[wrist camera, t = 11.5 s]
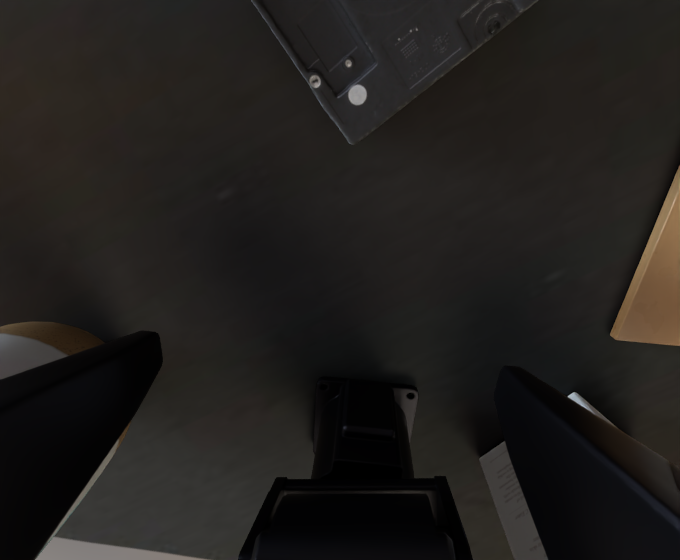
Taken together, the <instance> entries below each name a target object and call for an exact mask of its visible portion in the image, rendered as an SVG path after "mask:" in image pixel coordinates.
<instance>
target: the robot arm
mask: <svg viewBox="0 0 680 560" xmlns="http://www.w3.org/2000/svg"><path fill="white" fill-rule="evenodd" d="M162 362H163V356H162V349H161V342H160V337H159V334H158V333H156V332H152V331H139V332H136V333H133V334H130V335H127V336H124V337H121V338H119V339H116V340H113V341H110V342H107V343H104V344H101V345H98V346H95V347H93V348H90V349H87V350H84V351H81V352H78V353H75V354H72V355H70V356H67V357H64V358H61V359H58V360H55V361H52V362H49V363H47V364H44V365H41V366H38V367H35V368H32V369H29V370H26V371H24V372H21V373H18V374H15V375H12V376H9V377H6V378H3V379H0V560H35V559H36V558H37V556H38V555H39V553H40V552H41V550H42V549H43V548H44V546H45V545H46V543H47V542H48V540H49V539H50V537H51V536H52V535H53V533H54V532H55V530H56V529H57V527H58V526H59V524H60V523H61V522H62V520H63V519H64V517H65V516H66V514H67V513H68V511H69V510H70V508H71V507H72V506H73V504H74V503H75V501H76V500H77V498H78V497H79V495H80V494H81V493H82V491H83V490H84V488H85V487H86V485H87V484H88V482H89V481H90V480H91V478H92V477H93V475H94V474H95V472H96V471H97V469H98V468H99V467H100V465H101V464H102V462H103V461H104V459H105V458H106V456H107V455H108V454H109V452H110V451H111V449H112V448H113V446H114V445H115V443H116V442H117V440H118V439H119V438H120V436H121V435H122V433H123V432H124V430H125V429H126V427H127V426H128V424H129V423H130V421H131V420H132V418H133V417H134V415H135V413H136V412H137V410H138V408H139V407H140V405H141V403H142V401H143V399H144V398H145V396H146V394H147V392H148V390H149V388H150V387H151V385H152V383H153V381H154V379H155V378H156V376H157V374H158V372H159V370H160V368H161V366H162ZM322 384H327V386H323V385H322ZM408 393H413V394H412V395H408ZM418 398H419V394H418V390H417V388H416V387H415V386H412V385H404V384H394V383H385V382H375V381H365V380H355V379H344V378H334V377H321V378H319V379H318V381H317V386H316V404H315V423H314V443H313V452H314V454H315V458H314V464H313V470H312V476H311V479H287V477H276V479H275V481H274V483H273V485H272V487H271V490H270V491H269V492H268V494H267V496H266V499H265V501H264V503H263V505H262V507H261V509H260V511H259V513H258V515H257V518H256V520H255V522H254V524H253V526H252V528H251V530H250V532H249V534H248V537H247V539H246V541H245V543H244V545H243V547H242V549H241V551H240V554H239V558H238V560H473V559H472V555H471V551H470V547H469V544H468V540H467V537H466V534H465V531H464V528H463V525H462V523H461V520H460V517H459V514H458V511H457V508H456V505H455V502H454V499H453V496H452V493H451V491H450V488H449V485H448V482H447V479H446V476H434V478H414V471H413V464H412V457H411V450H410V440H411V435H412V429H413V424H414V419H415V413H416V408H417V403H418ZM494 401H495V405H496V409H497V413H498V416H499V420H500V424H501V428H502V432H503V436H504V440H505V443H506V447H507V451H508V454H509V458H510V460H511V463H512V466H513V469H514V471H515V474H516V477H517V479H518V482H519V485H520V487H521V490H522V492H523V495H524V498H525V500H526V503H527V506H528V508H529V511H530V514H531V516H532V519H533V521H534V524H535V527H536V529H537V532H538V535H539V537H540V540H541V542H542V545H543V548H544V550H545V553H546V556H547V558H548V560H680V467H678V466H676V465H675V464H673V463H669V461H668V460H667V459H665V458H664V457H662V456H660V455H659V454H657V453H656V452H654V451H653V450H651V449H649V448H648V447H646V446H645V445H643V444H641V443H640V442H638V441H637V440H635V439H633V438H632V437H630V436H629V435H627V434H626V433H624V432H622V431H621V430H619V429H618V428H616V427H614V426H613V425H611V424H610V423H608V422H607V421H605V420H603V419H602V418H600V417H599V416H597V415H595V414H594V413H592V412H591V411H589V410H587V409H586V408H584V407H583V406H581V405H580V404H578V403H576V402H575V401H573V400H572V399H570V398H568V397H567V396H565V395H564V394H562V393H561V392H559V391H557V390H556V389H554V388H553V387H551V386H549V385H548V384H546V383H545V382H543V381H542V380H540V379H538V378H537V377H535V376H534V375H532V374H530V373H529V372H527V371H526V370H524V369H523V368H521V367H515V366H504V367H502V369H501V371H500V374H499V377H498V381H497V384H496V388H495V392H494Z"/></svg>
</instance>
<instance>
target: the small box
mask: <svg viewBox="0 0 680 560" xmlns="http://www.w3.org/2000/svg"><path fill="white" fill-rule="evenodd" d="M568 398H570V399H572V400H573V401H575V402H576V403H578V404H580V405H581V406H583V407H584V408H586V409H587V410H589V411H591V412H592V413H594V414H595V415H597V416H599V417H600V418H602V419H603V420H605V421H607V422H608V423H610V424H611V425H613V426H614V427H616V426H615V425H614V424H612V423H611V422H610V421H609V420H608V419H607V418H605V417H604V416H603V415H602V414H601V413H600V412H599V411H597V410H596V409H595V408H594V407H593V406H592V405H590V404H589V403H588V402H587V401H586V400H585V399H583V398H582V397H581V396H580V395H579V394H577V393H576V392H573V393H572V394H570V395H569V396H568ZM616 428H617V427H616ZM479 461H480V464H481V467H482V469H483V472H484V475H485V478H486V481H487V483H488V486H489V489H490V492H491V495H492V498H493V500H494V503H495V506H496V509H497V512H498V515H499V518H500V520H501V523H502V526H503V528H504V531H505V534H506V537H507V540H508V542H509V545H510V548H511V551H512V553H513V556H514V559H515V560H548V558H547V556H546V553H545V550H544V548H543V545H542V542H541V540H540V537H539V535H538V532H537V529H536V527H535V524H534V521H533V519H532V516H531V514H530V511H529V508H528V506H527V503H526V500H525V498H524V495H523V492H522V490H521V487H520V485H519V482H518V479H517V477H516V474H515V471H514V469H513V466H512V463H511V460H510V458H509V454H508V451H507V447H506V443H505V441H504V442H502V443H501V444H499V445H498V446H497V447H495V448H494V449H492V450H491V451H490V452H488V453H487V454H485V455H484V456H482V457H481V458H479Z"/></svg>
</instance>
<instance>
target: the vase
mask: <svg viewBox="0 0 680 560" xmlns="http://www.w3.org/2000/svg"><path fill="white" fill-rule="evenodd" d="M104 343H105V342H103V341H102V340H101V339H99V338H98V337H96V336H94V335H92V334H91V333H89V332H87V331H84V330H82V329H80V328H77V327H73V326H70V325H66V324H60V323H55V322H24V323H16V324H9V325H5V326H1V327H0V379H3V378H6V377H9V376H12V375H15V374H18V373H21V372H24V371H26V370H29V369H32V368H35V367H38V366H41V365H44V364H47V363H49V362H52V361H55V360H58V359H61V358H64V357H67V356H70V355H72V354H75V353H78V352H81V351H84V350H87V349H90V348H93V347H95V346H98V345H101V344H104ZM130 423H131V421H130ZM130 423H129V424H128V426H127V427H126V429H125V430H124V432H123V433H122V435H121V436H120V438H119V439H118V440H117V442H116V443H115V445H114V446H113V448H112V449H111V451H110V452H109V454H108V455H107V456H106V458H105V459H104V461H103V462H102V464H101V465H100V467H99V468H98V469H97V471H96V472H95V474H94V475H93V477H92V478H91V480H90V481H89V482H88V484H87V485H86V487H85V488H84V490H83V491H82V493H81V494H80V495H79V497H78V498H77V500H76V501H75V503H74V504H73V506H72V507H71V508H70V510H69V511H68V513H67V514H66V516H65V517H64V519H63V520H62V522H61V523H60V524H59V526H58V527H57V529H56V530H55V532H54V533H53V535H52V536H51V537H50V539H49V540H48V542H47V543H46V545H45V546H44V548H45V547H46V546H47V544H48V543H49V542H50V541H51V540H52V538H53V537H54V536H55V534H56V533H57V532H58V531H59V529H60V528H61V527H62V526H63V524H64V523H65V522H66V520H67V519H68V518H69V517H70V515H71V514H72V513H73V512H74V510H75V509H76V508H77V506H78V505H79V504H80V502H81V501H82V499H83V498H84V497H85V495H86V494H87V493H88V491H89V490H90V489H91V487H92V486H93V484H94V483H95V482H96V480H97V479H98V477H99V476H100V474H101V473H102V471H103V470H104V469H105V467H106V466H107V464H108V463H109V461H110V460H111V458H112V457H113V455H114V453H115V452H116V450H117V449H118V447H119V445H120V444H121V442H122V440H123V439H124V437H125V435H126V433H127V431H128V428H129V425H130ZM44 548H43V549H44ZM43 549H42V550H41V552H42V551H43ZM41 552H40V553H41ZM40 553H39V554H40ZM38 556H39V555H38ZM38 556H37V557H38Z"/></svg>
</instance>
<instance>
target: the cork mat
mask: <svg viewBox="0 0 680 560" xmlns="http://www.w3.org/2000/svg"><path fill="white" fill-rule="evenodd" d="M610 336H612V337H613V338H614V339H615V340H622V341H632V342H643V343H654V344H665V345H676V346H680V165H679V168H678V170H677V172H676V175H675V177H674V180H673V182H672V185H671V187H670V189H669V192H668V194H667V197H666V199H665V202H664V204H663V207H662V209H661V211H660V214H659V216H658V219H657V221H656V224H655V226H654V228H653V231H652V233H651V236H650V238H649V241H648V243H647V245H646V248H645V250H644V253H643V255H642V258H641V260H640V262H639V265H638V267H637V270H636V272H635V275H634V277H633V279H632V282H631V284H630V287H629V289H628V292H627V294H626V296H625V299H624V301H623V304H622V306H621V309H620V311H619V313H618V316H617V318H616V321H615V323H614V326H613V328H612V330H611V333H610Z"/></svg>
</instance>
